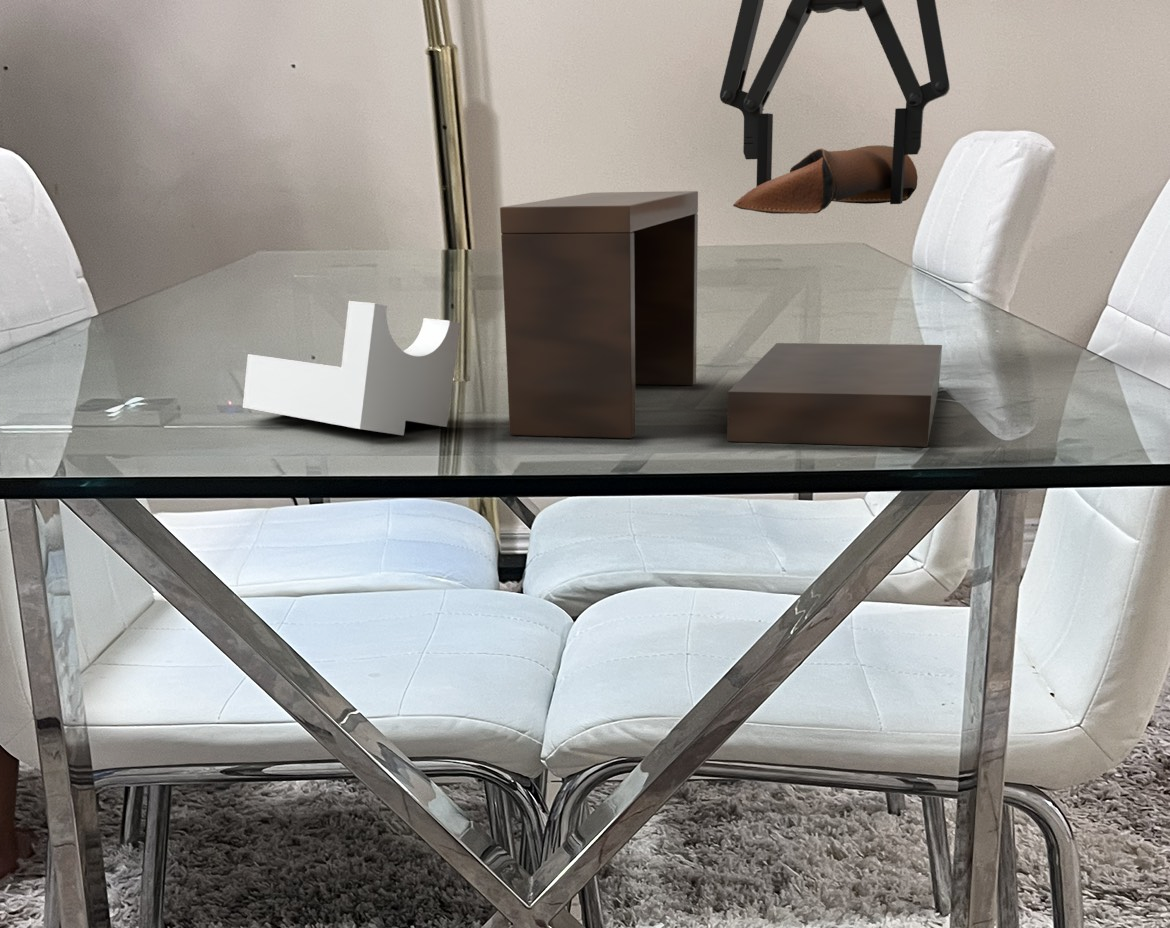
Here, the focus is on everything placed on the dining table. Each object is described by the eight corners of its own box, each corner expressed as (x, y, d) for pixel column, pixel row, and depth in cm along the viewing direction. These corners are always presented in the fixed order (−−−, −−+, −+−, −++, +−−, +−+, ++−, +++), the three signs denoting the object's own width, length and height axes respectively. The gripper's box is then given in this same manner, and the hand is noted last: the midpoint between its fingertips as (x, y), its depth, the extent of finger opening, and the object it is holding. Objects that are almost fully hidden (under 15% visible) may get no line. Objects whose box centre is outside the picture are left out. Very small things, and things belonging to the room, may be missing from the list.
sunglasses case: (818, 196, 117) (860, 119, 113) (885, 243, 115) (931, 166, 111) (726, 206, 102) (771, 118, 99) (801, 259, 101) (850, 172, 97)
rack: (938, 387, 102) (954, 187, 97) (927, 447, 83) (946, 201, 77) (594, 381, 109) (590, 192, 103) (509, 435, 89) (499, 207, 84)
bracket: (444, 441, 93) (460, 323, 91) (359, 428, 87) (374, 303, 86) (326, 419, 101) (339, 311, 99) (242, 407, 96) (254, 292, 94)
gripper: (1005, -143, 99) (978, 200, 108) (698, -118, 105) (696, 206, 114) (1006, -163, 92) (977, 203, 102) (678, -136, 98) (678, 209, 107)
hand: (829, 204), depth 108 cm, fingers closed on sunglasses case, 9 cm apart
